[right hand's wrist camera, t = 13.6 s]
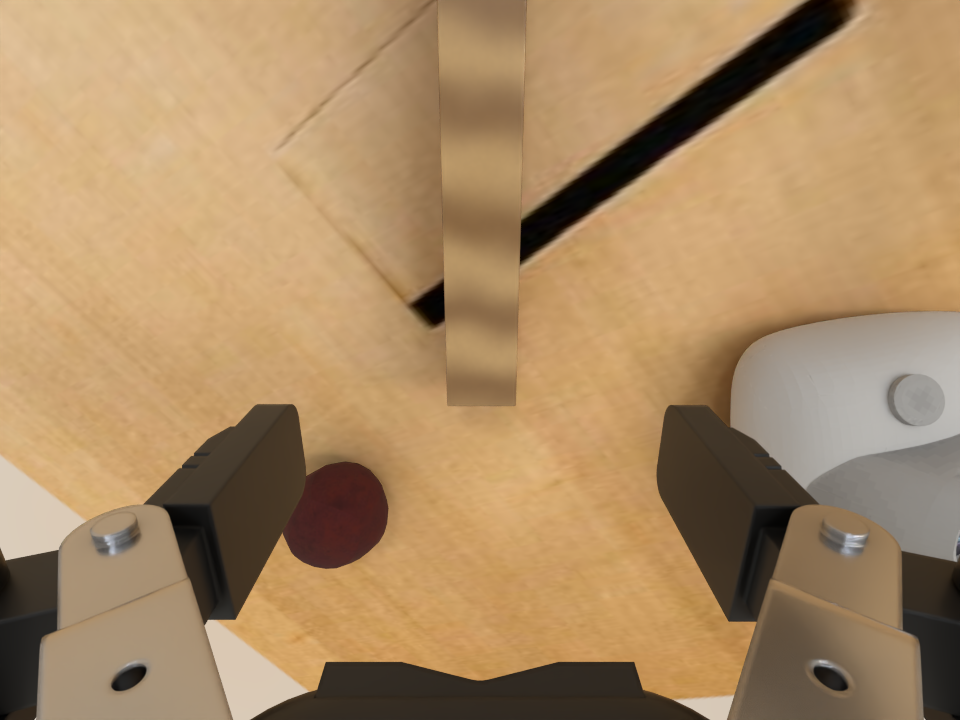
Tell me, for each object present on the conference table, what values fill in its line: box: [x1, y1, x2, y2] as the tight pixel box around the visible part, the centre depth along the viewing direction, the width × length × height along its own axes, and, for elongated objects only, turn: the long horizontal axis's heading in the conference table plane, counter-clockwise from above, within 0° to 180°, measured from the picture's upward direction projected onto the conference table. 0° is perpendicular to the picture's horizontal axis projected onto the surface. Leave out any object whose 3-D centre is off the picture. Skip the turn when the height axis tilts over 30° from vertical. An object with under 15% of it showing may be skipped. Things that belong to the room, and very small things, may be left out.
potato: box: [283, 462, 388, 569], centre depth 38 cm, size 7×8×7 cm
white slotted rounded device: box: [730, 311, 960, 562], centre depth 32 cm, size 22×23×15 cm
